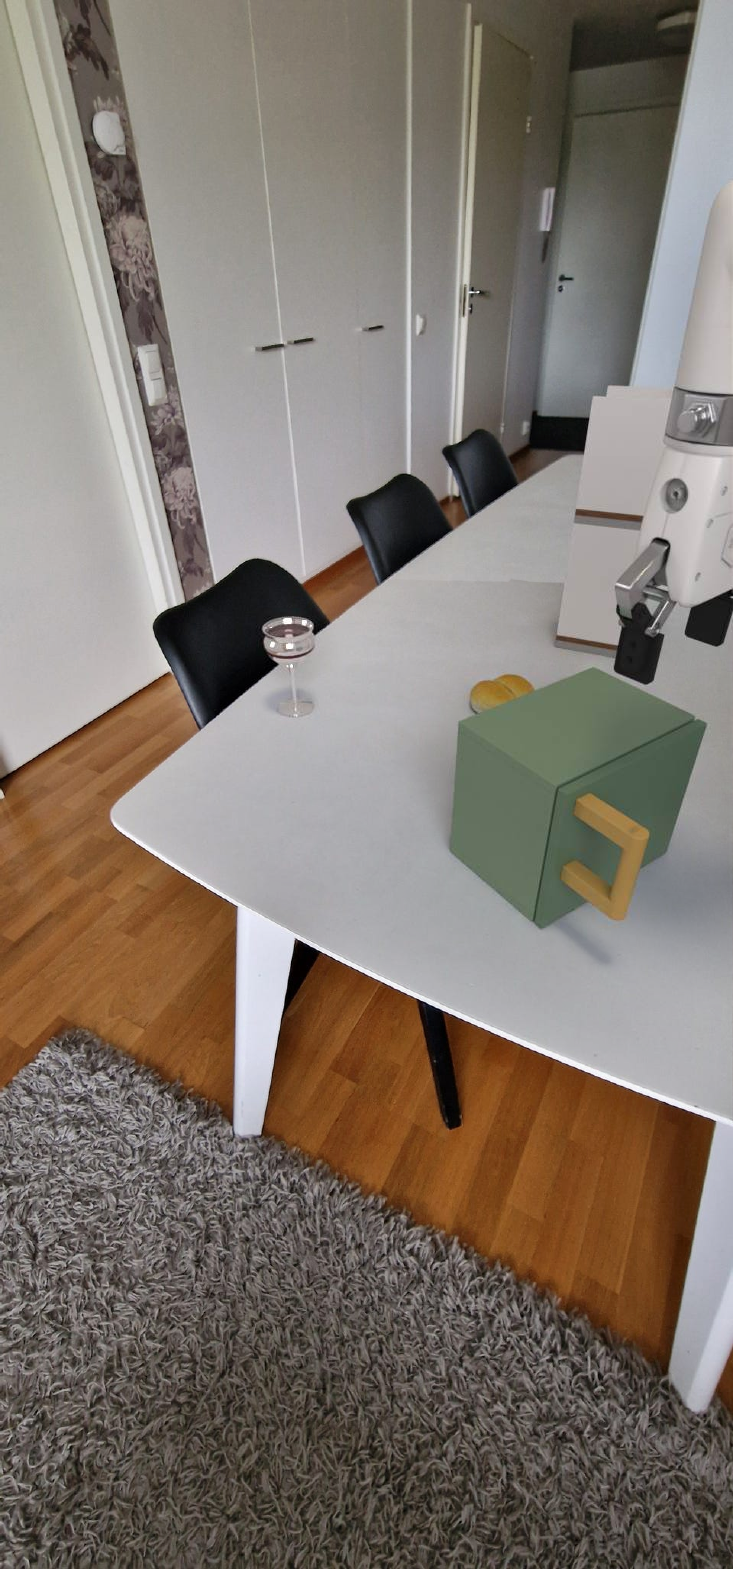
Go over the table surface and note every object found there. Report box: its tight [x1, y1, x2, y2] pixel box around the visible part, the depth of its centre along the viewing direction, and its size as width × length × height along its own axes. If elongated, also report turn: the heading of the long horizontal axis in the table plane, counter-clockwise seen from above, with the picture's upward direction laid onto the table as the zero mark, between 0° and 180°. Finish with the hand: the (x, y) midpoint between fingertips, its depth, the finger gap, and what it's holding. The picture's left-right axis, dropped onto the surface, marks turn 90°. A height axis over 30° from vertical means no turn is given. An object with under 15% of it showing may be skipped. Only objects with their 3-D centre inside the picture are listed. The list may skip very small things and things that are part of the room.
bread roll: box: [469, 673, 536, 714], centre depth 96 cm, size 8×9×4 cm
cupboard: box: [449, 666, 696, 923], centre depth 69 cm, size 12×18×16 cm, turn 124°
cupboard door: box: [533, 718, 708, 930], centre depth 62 cm, size 7×18×16 cm, turn 124°
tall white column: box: [554, 384, 674, 659], centre depth 102 cm, size 11×11×35 cm
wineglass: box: [261, 616, 316, 718], centre depth 94 cm, size 7×7×12 cm
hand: (669, 658), depth 56 cm, fingers open, 9 cm apart
